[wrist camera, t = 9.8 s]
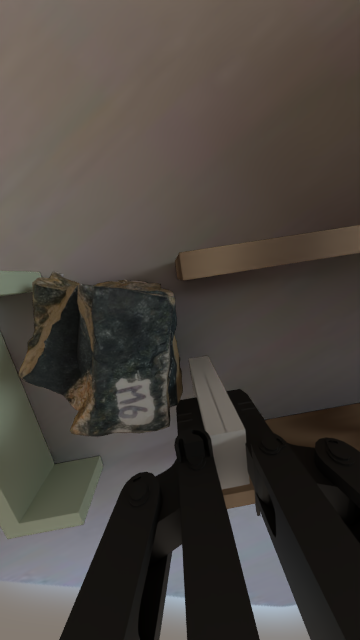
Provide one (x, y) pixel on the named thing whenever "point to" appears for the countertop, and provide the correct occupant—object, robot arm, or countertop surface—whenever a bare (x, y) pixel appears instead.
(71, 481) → the bracket
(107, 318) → the rock
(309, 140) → the countertop surface
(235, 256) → the cubby
